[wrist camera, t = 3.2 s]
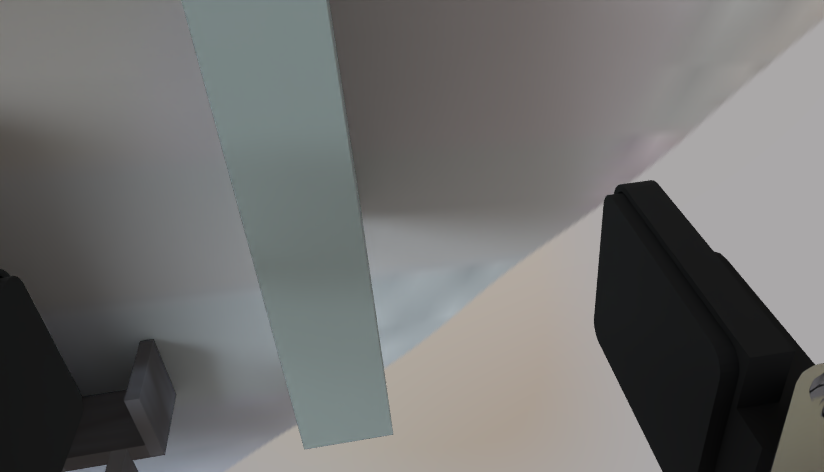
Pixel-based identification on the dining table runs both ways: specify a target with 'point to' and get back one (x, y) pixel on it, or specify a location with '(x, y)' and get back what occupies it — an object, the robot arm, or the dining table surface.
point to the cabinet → (126, 419)
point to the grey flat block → (298, 203)
